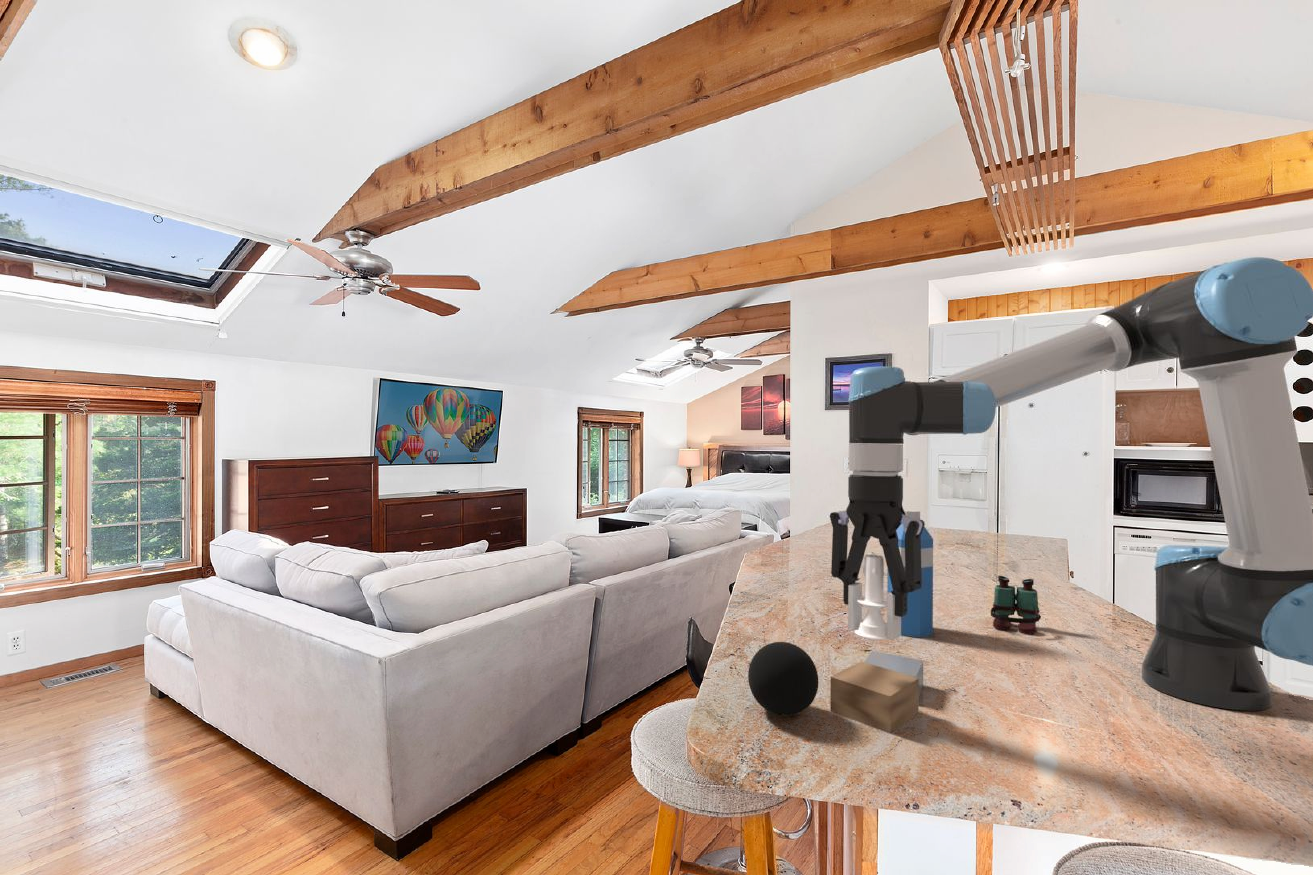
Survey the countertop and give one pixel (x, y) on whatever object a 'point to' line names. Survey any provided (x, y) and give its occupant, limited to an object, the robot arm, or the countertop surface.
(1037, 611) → the binoculars
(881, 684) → the walnut block
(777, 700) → the decorative ball
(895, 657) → the slate block
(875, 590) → the candle
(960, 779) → the countertop surface
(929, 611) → the water bottle
